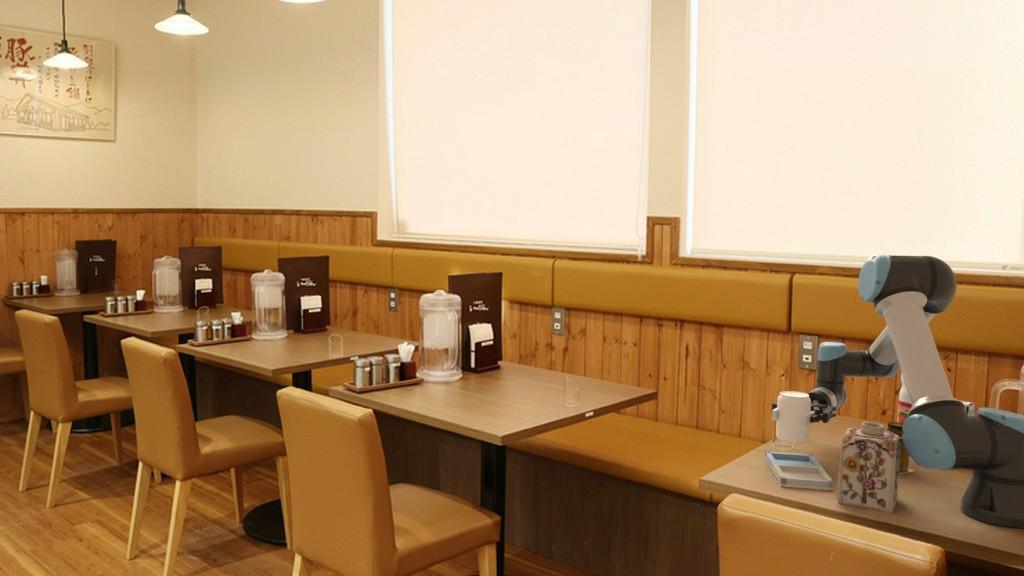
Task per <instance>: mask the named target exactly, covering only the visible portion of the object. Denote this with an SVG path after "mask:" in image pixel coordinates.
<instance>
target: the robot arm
mask: <svg viewBox="0 0 1024 576" xmlns="http://www.w3.org/2000/svg"><path fill="white" fill-rule="evenodd" d="M957 282H958V281H957V278H956V275H955V273H954V271H953V269H952V268H951V266H950V265H948V263H946V262H945V261H944V260H942V259H940V258H938V257H935V256H930V255H891V254H889V253H886V254H875V255H872V256H871V255H870V257H868V258H867V259H866V260H865V262H864V263H863V265H862V267H861V270H860V272H859V276H858V282H857V284H858V285H857V287H858V294H859V297H860V299H861V300H862V301H863V302H865V303H868V304H871V303H872V304H873V307H874V310H875V313H876V315H878V316H879V317H882V318H884V320H885V324H886V326H884V329H883V330H882V331H881V332H880V334H879V335H878V336H877V337H876V339H874V342H873V343H872V344H871V345H870V346H869V347H868V348H867V349H866V350H863V349H861V350H858V349H848V346H847V344H845V343H842V342H836V341H824V342H821V343H820V344H819V346H818V351H817V362H816V363H817V364H816V381H815V389H814V388H813V389H812V390H810V391H808V392H805V393H806V394H808V395H809V398H810V400H811V410H810V412H809V413H807V414H805V415H803V423H802V426H803V427H806V426H808V425H809V424H810V425H811V424H813V423H820V422H822V423H824V424H827V423H828V422H830V420H831V419H832V418H834V417H836V416H837V410H840V409H841V408H842V407H843V405H844V404H846V402H847V400H848V392H847V390H846V388H845V382H846V377H847V378H849V377H850V378H854V377H857V378H858V377H859V378H860V377H861V378H862V377H863V378H865V377H866V378H881V379H882V378H892V377H894V376H896V374H897V373H898V372H899V369H900V371H901V374H903V378H904V381H905V384H906V387H907V390H908V394H909V397H910V400H911V403H912V408H911V409H910V410H909V412H908V418H907V419H906V420H905V423H904V425H903V432H904V434H903V442H904V445H905V448H906V450H907V452H908V454H909V458H910V459H911V460H912V461H913V462H914V463H915V464H917V465H918V466H920V467H921V468H923V469H926V470H927V469H929V470H937V471H949V470H950V471H952V470H956V471H958V470H960V471H961V470H967V471H972V475H971V478H970V481H969V482H968V485H966V489H965V491H964V493H963V495H962V497H961V499H960V500H961V501H960V510H961V512H962V513H963V514H965V515H966V516H969V517H971V518H972V519H975V520H978V521H981V522H984V523H987V524H992V525H996V526H997V525H998V526H1000V527H1007V528H1008V527H1009V528H1020V529H1024V414H1020V413H1017V412H1016V413H1015V412H1012V411H1007V410H1003V409H998V408H991V407H979V408H978V409H977V411H976V415H974V416H968V414H967V412H966V409H965V406H964V404H963V402H962V401H963V400H960V399H957V398H955V397H954V395H953V392H952V389H951V386H950V384H949V381H948V378H947V374H946V372H945V370H944V365H943V363H942V360H941V357H940V354H939V351H938V348H937V346H936V343H935V339H934V337H933V333H932V331H931V329H930V325H929V324H930V321H931V320H932V319H934V317H935V316H936V315H940V314H942V313H944V312H945V311H946V310H947V308H949V306H950V305H951V304H952V302H953V301H954V298H955V296H956V293H957V287H958V286H957ZM777 403H778V401H776V402H773V403H772V404H771V421H773V422H775V421H776V422H777V420H778V409H777Z"/></svg>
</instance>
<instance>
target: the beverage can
mask: <svg viewBox="0 0 1024 576" xmlns="http://www.w3.org/2000/svg"><path fill="white" fill-rule="evenodd" d="M806 393H807V392H802V391H794V390H793V391H792V390H787V391H786V390H785V391H780V392H779V395H778V397H777V402H778V403H777V409H778V420H776V426H775V427H776V428H775V429H776V431H775V437H776V438H778V439H779V440H780V441H781V442H782V441H783V442H786V443H791V444H792V443H793V444H802V443H805V442H808V441H809V440H810V425H811V424H809V425H808V426H806V427H803V426H802V423H803V415H805V414H807V413H809V412H810V410H811V400H810V398H809V395H808V394H806Z"/></svg>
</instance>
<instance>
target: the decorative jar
mask: <svg viewBox="0 0 1024 576" xmlns="http://www.w3.org/2000/svg"><path fill="white" fill-rule="evenodd" d="M884 429H885V426H884V425H883V424H881V423H877V422H872V421H871V422H869V421H864V422H862V423H861V427H850V428H847V429H845V431H844V432H845V433H844V435H843V438H842V442H841V446H840V457H839V468H838V469H839V471H838V482H837V483H838V484H837V494H836V495H837V497H836V499H837V500H836V501H837V503H838V504H840V505H844V506H849V507H850V506H851V507H857V508H861V509H865V510H870V511H871V510H872V511H876V512H881V513H887V514H893V511H894V509H895V507H896V504H897V501H898V495H899V481H900V475H899V469H900V448H901V440H900V438H899V436H898V435H896V434H894V433H892V432H890V431H887V429H886V430H884Z"/></svg>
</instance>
